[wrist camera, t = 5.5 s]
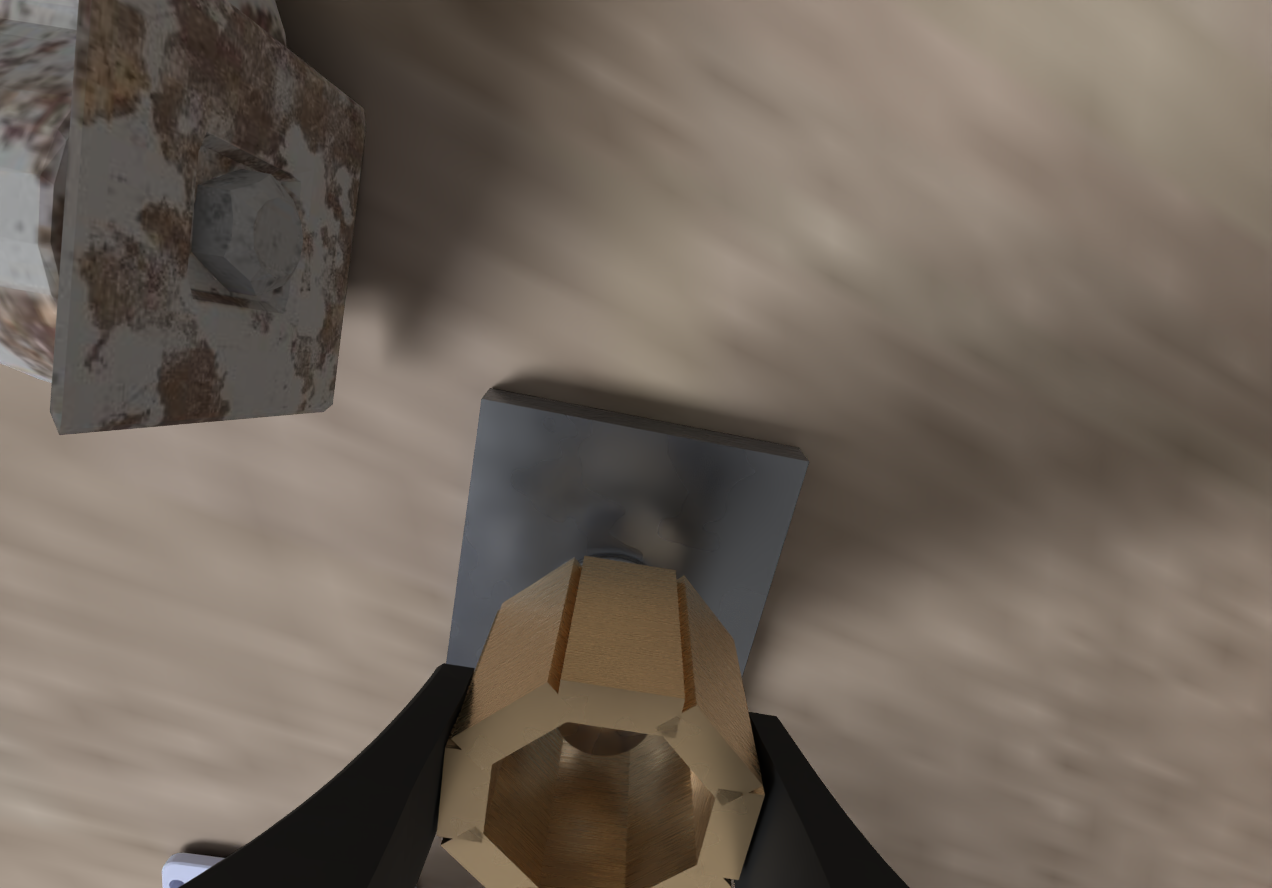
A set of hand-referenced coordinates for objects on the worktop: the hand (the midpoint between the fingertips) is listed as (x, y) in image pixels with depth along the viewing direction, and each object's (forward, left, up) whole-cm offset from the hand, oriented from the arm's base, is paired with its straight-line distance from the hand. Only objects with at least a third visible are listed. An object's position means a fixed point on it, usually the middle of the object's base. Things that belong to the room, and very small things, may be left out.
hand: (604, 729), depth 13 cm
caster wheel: (+10, +12, -6) cm, 17 cm away
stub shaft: (0, 0, -5) cm, 5 cm away
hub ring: (0, 0, -2) cm, 2 cm away
